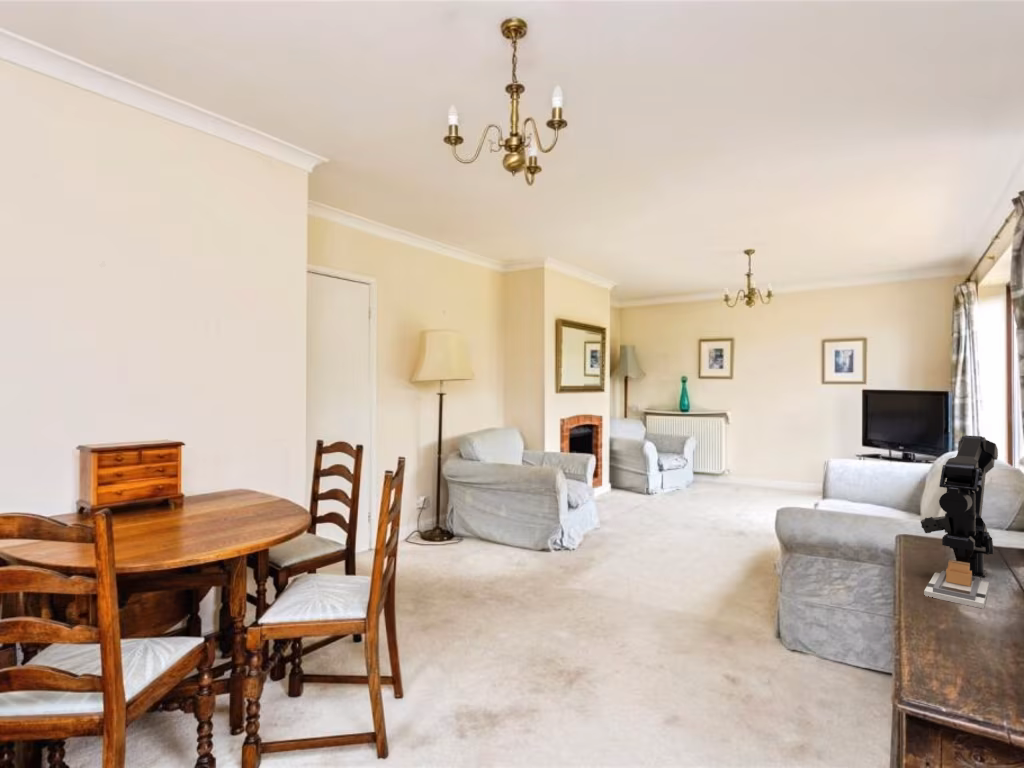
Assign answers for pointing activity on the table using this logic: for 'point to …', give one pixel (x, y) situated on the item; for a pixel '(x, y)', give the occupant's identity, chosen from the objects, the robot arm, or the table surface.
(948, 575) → the fader knob
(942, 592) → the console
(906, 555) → the table surface
